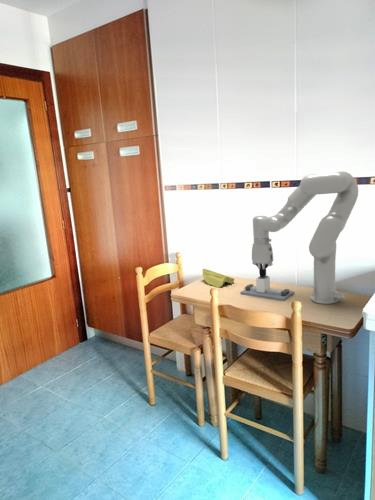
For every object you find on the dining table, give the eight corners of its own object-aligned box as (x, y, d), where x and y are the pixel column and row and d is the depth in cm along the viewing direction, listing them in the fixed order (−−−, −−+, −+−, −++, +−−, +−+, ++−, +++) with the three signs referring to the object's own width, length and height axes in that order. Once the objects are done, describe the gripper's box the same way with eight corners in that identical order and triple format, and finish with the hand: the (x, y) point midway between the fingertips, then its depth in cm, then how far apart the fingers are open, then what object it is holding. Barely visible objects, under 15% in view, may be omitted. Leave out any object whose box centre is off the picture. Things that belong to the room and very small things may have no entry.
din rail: (289, 293, 193) (289, 289, 193) (284, 296, 189) (284, 292, 189) (250, 287, 207) (250, 284, 206) (245, 290, 203) (245, 286, 202)
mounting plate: (294, 293, 195) (294, 291, 195) (283, 301, 186) (283, 298, 186) (251, 287, 210) (251, 285, 210) (240, 294, 201) (240, 292, 201)
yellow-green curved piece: (236, 279, 220) (224, 275, 214) (232, 291, 220) (220, 288, 214) (212, 271, 235) (201, 267, 229) (209, 283, 235) (197, 279, 229)
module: (270, 289, 200) (270, 275, 199) (264, 293, 196) (264, 278, 194) (262, 288, 203) (262, 274, 202) (256, 291, 198) (256, 277, 197)
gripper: (278, 240, 192) (279, 275, 196) (251, 238, 202) (253, 273, 205) (271, 243, 187) (273, 279, 190) (244, 241, 196) (246, 276, 199)
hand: (262, 276), depth 198 cm, fingers closed
